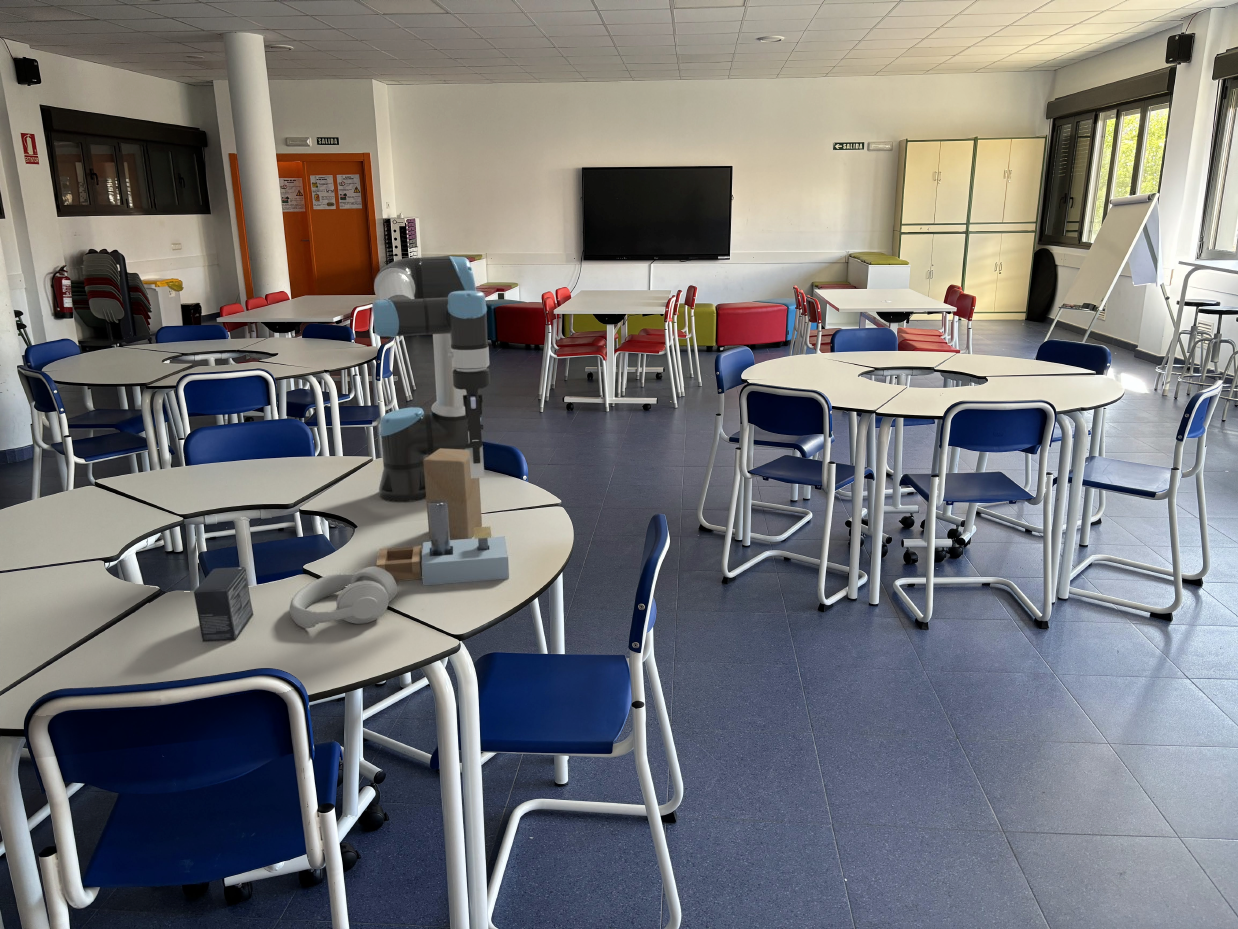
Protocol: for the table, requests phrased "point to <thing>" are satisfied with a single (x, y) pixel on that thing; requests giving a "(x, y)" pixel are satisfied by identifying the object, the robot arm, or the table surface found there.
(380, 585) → the headphones
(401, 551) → the rack
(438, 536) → the cylinder
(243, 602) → the small box
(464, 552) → the socket block
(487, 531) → the small square tan block
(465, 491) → the wooden block
